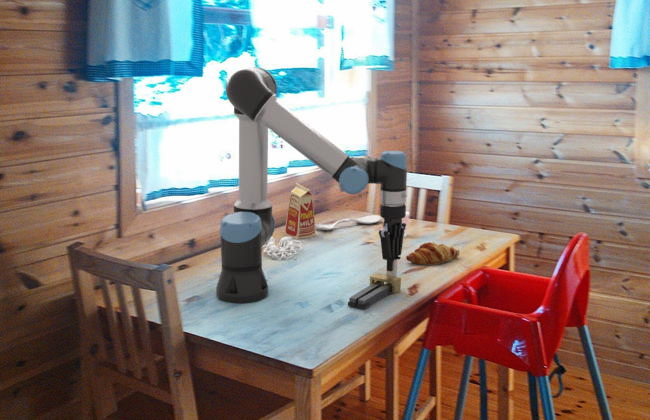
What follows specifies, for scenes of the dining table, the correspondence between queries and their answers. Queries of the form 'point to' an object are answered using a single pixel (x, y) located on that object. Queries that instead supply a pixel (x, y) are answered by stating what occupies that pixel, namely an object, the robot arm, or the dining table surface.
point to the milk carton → (300, 214)
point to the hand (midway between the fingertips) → (391, 280)
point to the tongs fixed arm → (374, 296)
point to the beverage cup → (405, 220)
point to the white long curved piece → (363, 220)
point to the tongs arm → (364, 293)
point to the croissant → (432, 254)
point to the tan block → (389, 279)
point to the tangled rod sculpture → (284, 242)
